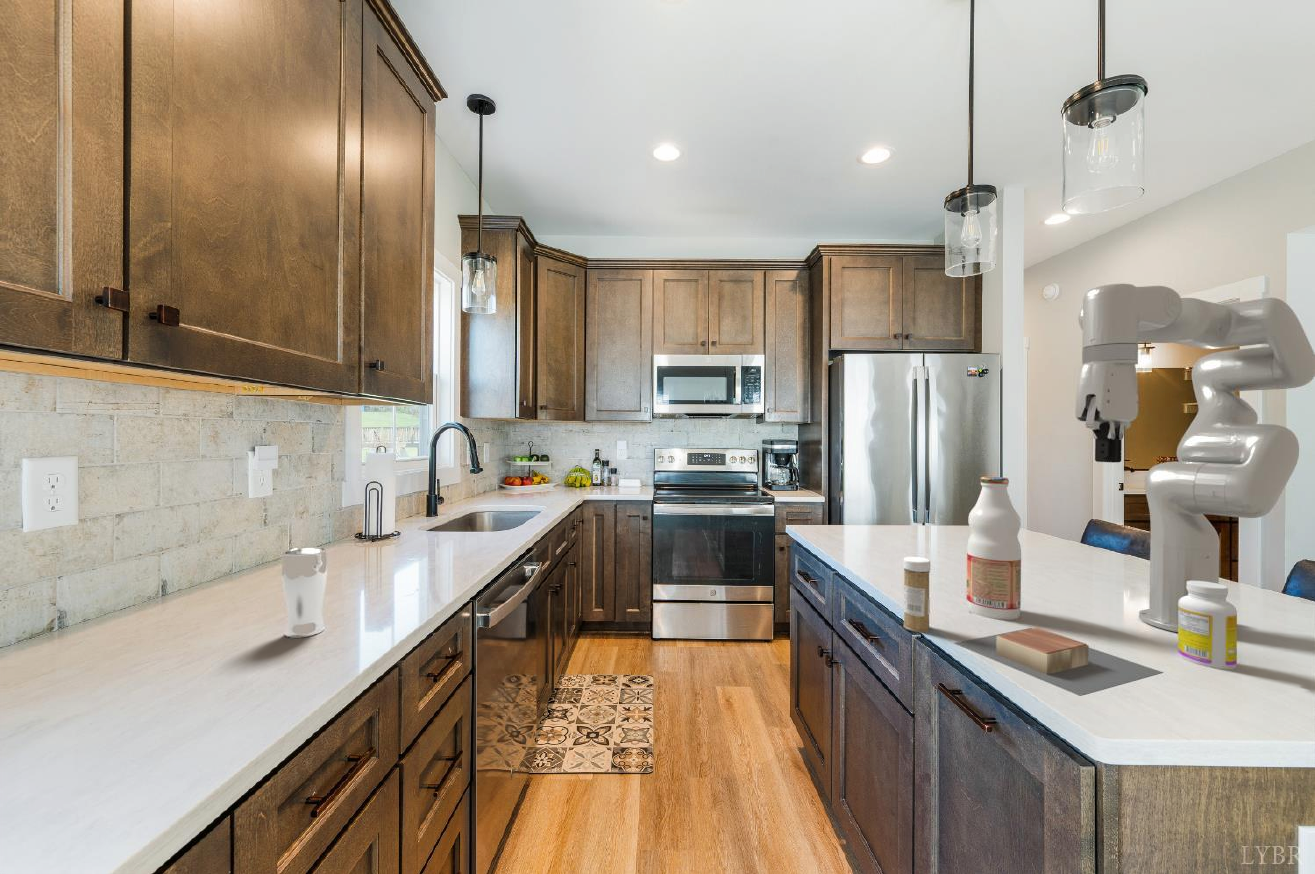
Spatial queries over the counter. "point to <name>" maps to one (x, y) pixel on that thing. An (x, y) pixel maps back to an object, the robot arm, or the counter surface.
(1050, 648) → the birch tile
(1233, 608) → the supplement bottle
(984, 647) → the rubber mat
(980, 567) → the fruit juice
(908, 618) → the sprinkles bottle
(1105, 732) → the counter surface
